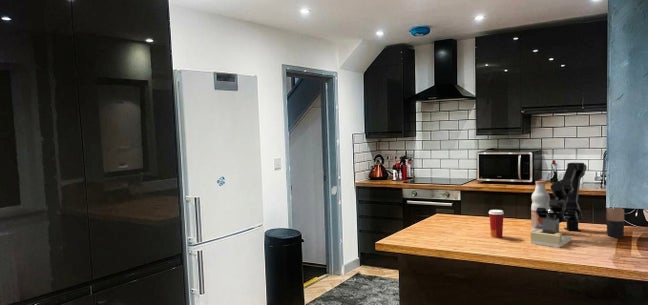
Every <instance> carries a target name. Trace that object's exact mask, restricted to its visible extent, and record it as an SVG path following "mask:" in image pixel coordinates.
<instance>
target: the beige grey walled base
mask: <svg viewBox="0 0 648 305" xmlns="http://www.w3.org/2000/svg"><path fill="white" fill-rule="evenodd" d="M572 240H573V237H572V236H568V235H563V232H560V231H559V232H557V233H556V234H547V233H543V230H538V231H536V232H533V231H531V232H530V244H531V245H539V246H546V247H551V248H552V247H553V248H561V247H563V246H564V245H566V244H567V243H569V242H571V241H572Z"/></svg>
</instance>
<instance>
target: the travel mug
mask: <svg viewBox="0 0 648 305" xmlns="http://www.w3.org/2000/svg"><path fill="white" fill-rule="evenodd" d="M606 235H607V237H609V238H612V239H613V238H615V239H622V238H624V235H625V208H624V209H623V208H614V209H613V208H607V207H606Z"/></svg>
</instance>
